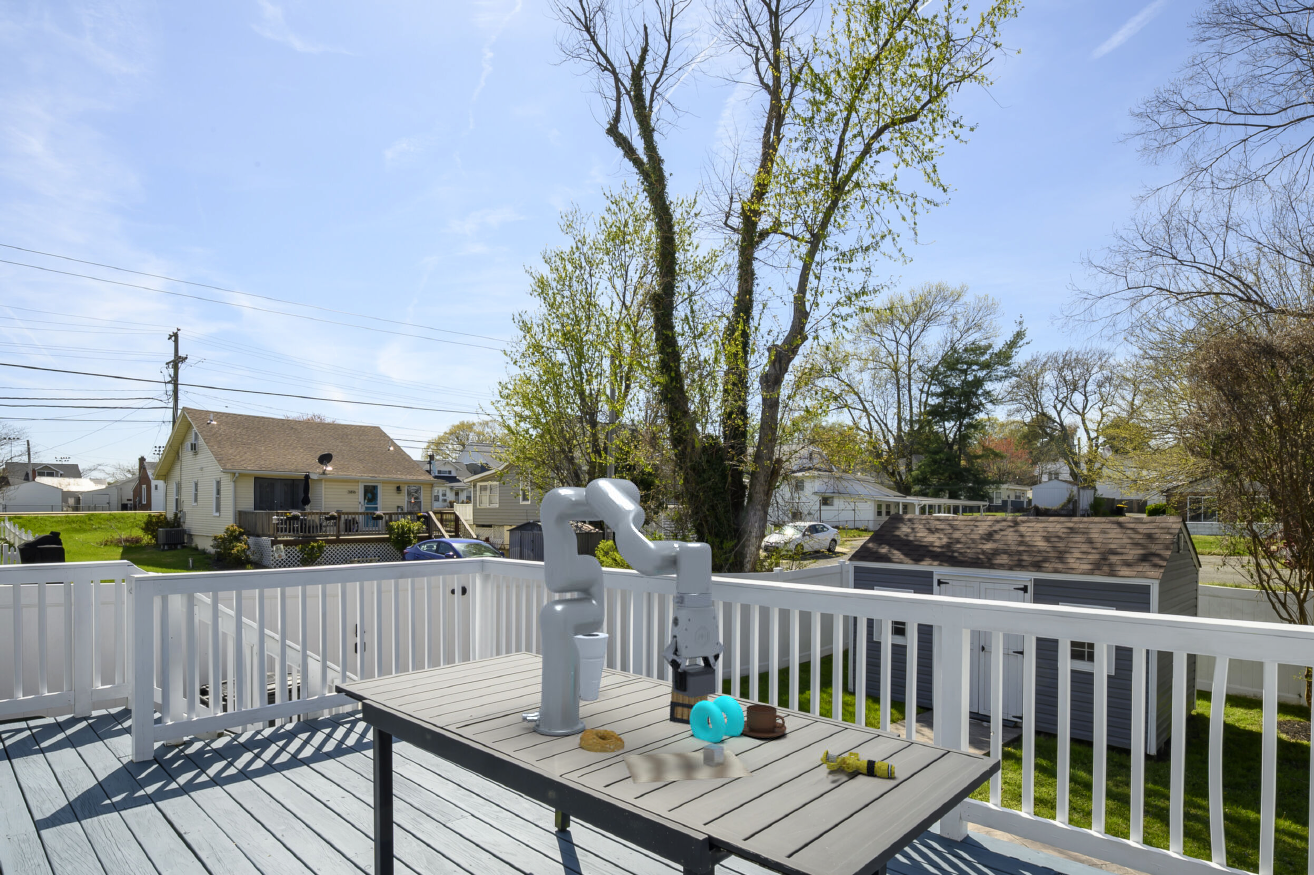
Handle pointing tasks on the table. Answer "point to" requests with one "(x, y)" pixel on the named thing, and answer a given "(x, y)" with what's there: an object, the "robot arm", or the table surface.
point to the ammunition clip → (683, 707)
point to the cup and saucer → (763, 722)
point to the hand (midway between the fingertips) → (694, 687)
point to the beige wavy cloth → (681, 767)
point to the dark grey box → (698, 681)
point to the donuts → (717, 719)
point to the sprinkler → (858, 765)
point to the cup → (591, 663)
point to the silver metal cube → (713, 755)
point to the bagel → (601, 741)
